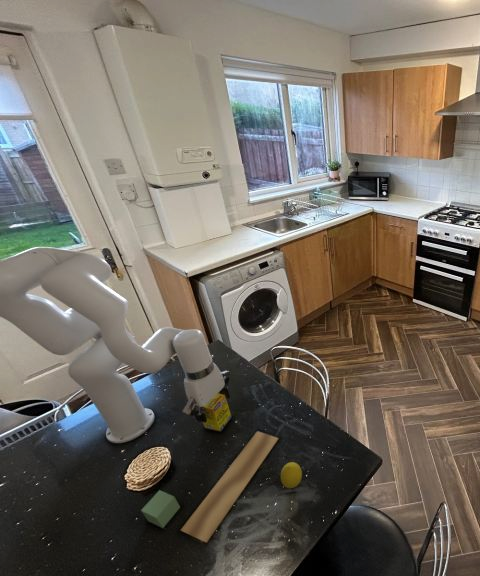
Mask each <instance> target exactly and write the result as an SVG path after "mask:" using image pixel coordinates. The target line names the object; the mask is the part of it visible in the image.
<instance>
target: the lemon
mask: <svg viewBox="0 0 480 576" xmlns="http://www.w3.org/2000/svg"><path fill="white" fill-rule="evenodd" d="M302 477H303V470H302V468H301V466H300V465H299V464H298V463H297V462H294V461H291V462H290V461H289V462H288V463H286V464H285V465H283V467H282V468H281V471H280V481H281V484H282V485H283V486H284V487H285V488H287V489H294V488H296V487H297V486H299V484H300V483H301V481H302Z"/></svg>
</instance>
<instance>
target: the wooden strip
mask: <svg viewBox="0 0 480 576" xmlns="http://www.w3.org/2000/svg"><path fill="white" fill-rule="evenodd" d="M279 439H280V438H279V437H276V436H273V435H271V434H268V433H264V432H261V431H258V430H257V431H256V432H255V433H254V435H253V436H252V437H251V439H250V440H249V441H248V442H247V444H246V445H245V446H244V447H243V449H242V450H241V451H240V453H239V454H238V455H237V457H236V458H235V459H234V460H233V462H231V464H230V466H229V467H228V468H227V470H225V472H224V473H223V474H222V475H221V477H220V479H219V480H218V481H217V482H216V484H215V485H214V486H213V488H212V489H211V490H210V492H209V493H208V494H207V495H206V497H204V499H203V500H202V501H201V503H200V504H199V506H198V507H197V508H196V509H195V511H194V512H193V513H192V515H191V516H190V517H189V518H188V520H187V521H186V522H185V524H184V525H183V526H182V528H181V529H180V531H181V532H182V533H184V534H187V535H189V536H191V537H193V538H194V539H198V540H199V541H201V542H204V543H206V544H207V543H208V542H209V540H210V539H211V537H212V536H213V534H214V533H215V532H216V530H217V529H218V527H219V526H220V524H221V523H222V522H223V520H224V518H225V517H226V516H227V515H228V513H229V512H230V510H231V508H232V507H233V506H234V504H235V503H236V502H237V500H238V498H239V497H240V496H241V494H242V493H243V491H244V490H245V488H246V487H247V485H248V484H249V482H250V481H251V479H253V477H254V475H255V474H256V472H257V471H258V469H259V468H260V467H261V465H262V464H263V462H264V461H265V459H266V458H267V456H268V455H269V454H270V452H271V450H272V449H273V448H274V446H275V444H276V443H277V442H278V440H279Z"/></svg>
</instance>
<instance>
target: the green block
mask: <svg viewBox="0 0 480 576" xmlns="http://www.w3.org/2000/svg"><path fill="white" fill-rule="evenodd" d="M180 508H181V506H180V504H179V502H178V501H177V499H176V496H174V495H172V494H169V493H167V492H165V491H163V490H160V489H159V490H158V491H157V492H156V494H154V495H153V497H151V499H150V500H149V501H148V502H147V503H146V504H145V505H144V506H143V507H142V509H141V510H140V512H141V513H142V515H143V516H144V517H145V519H146V520H147V522H149V523H151V524H153V525H155V526H157V527H160V528H161V529H164V528H165V526H166V525H167V524H168V523H169V522H170V521H171V519H172V518H173V517H174V516H175V514H176V513H177V512H178V511H179V510H180Z"/></svg>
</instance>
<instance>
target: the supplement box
mask: <svg viewBox="0 0 480 576" xmlns="http://www.w3.org/2000/svg"><path fill="white" fill-rule="evenodd" d="M198 408H199V406H197V409H198ZM202 412H204V414H205V416H206V419H207V422H206V423H205V422H202V425H203V426H204V429H205V430H208V431H209V430H210V431H213V432H217V433H218V432H219V433H222V431H223V430H224V428H225V427H226V426H227V424H228V423H229V422H230V421H231V419H232V418H233V416H232V414H231V410H230V407H229V404H228V401H227V398H226V397H225V395H222V394H220V393H217V394H216V395H215V396H214V397H213V398H212V399H211V400H210V401H209V402H208V403H207V404H206V405H205V406H204V407H203V410H202Z"/></svg>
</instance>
